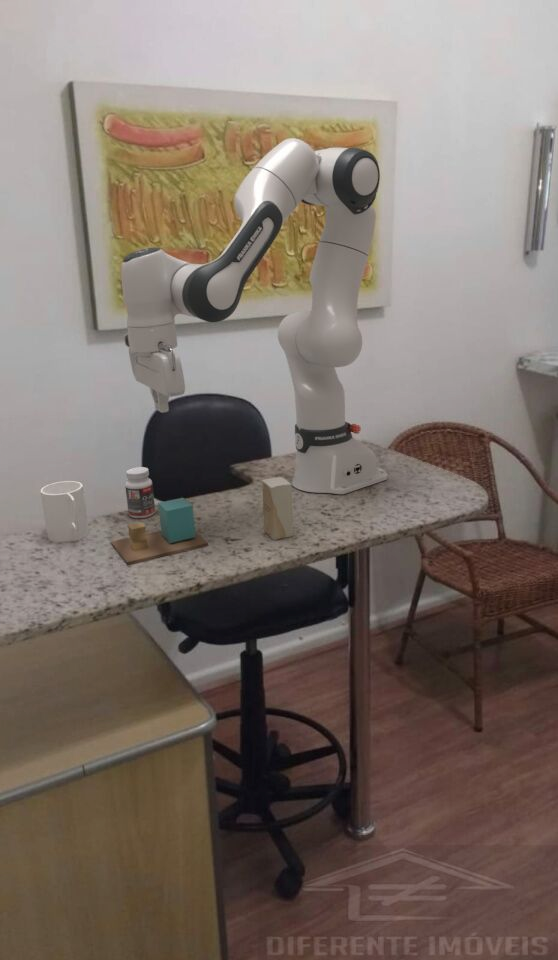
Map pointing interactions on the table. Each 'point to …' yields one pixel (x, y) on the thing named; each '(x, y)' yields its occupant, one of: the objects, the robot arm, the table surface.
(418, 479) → the table surface
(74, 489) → the cup
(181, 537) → the teal rectangular block
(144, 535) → the stand
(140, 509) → the pill bottle
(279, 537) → the box
